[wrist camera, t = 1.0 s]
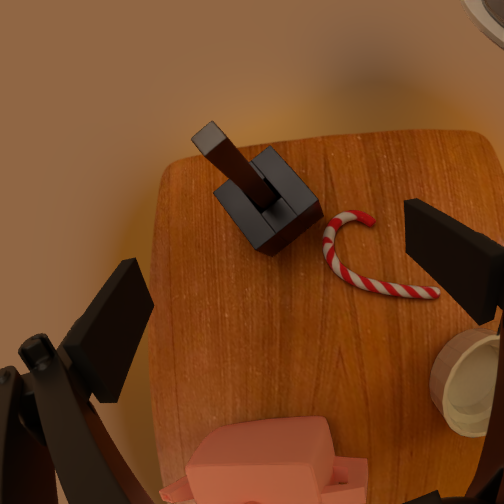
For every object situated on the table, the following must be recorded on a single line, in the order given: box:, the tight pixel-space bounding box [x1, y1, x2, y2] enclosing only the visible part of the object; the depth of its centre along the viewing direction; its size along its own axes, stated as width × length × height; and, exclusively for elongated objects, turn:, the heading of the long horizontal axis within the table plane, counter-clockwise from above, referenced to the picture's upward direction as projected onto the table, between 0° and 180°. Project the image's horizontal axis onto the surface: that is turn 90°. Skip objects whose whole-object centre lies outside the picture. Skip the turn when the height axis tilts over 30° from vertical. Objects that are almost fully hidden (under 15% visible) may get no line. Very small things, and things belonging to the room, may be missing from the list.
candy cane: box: [322, 210, 440, 299], centre depth 33 cm, size 8×1×15 cm
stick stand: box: [213, 146, 324, 257], centre depth 34 cm, size 8×8×7 cm
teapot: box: [159, 416, 368, 504], centre depth 27 cm, size 22×13×14 cm, turn 102°
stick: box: [191, 121, 279, 211], centre depth 28 cm, size 2×2×20 cm
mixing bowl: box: [429, 328, 500, 438], centre depth 26 cm, size 11×11×6 cm
